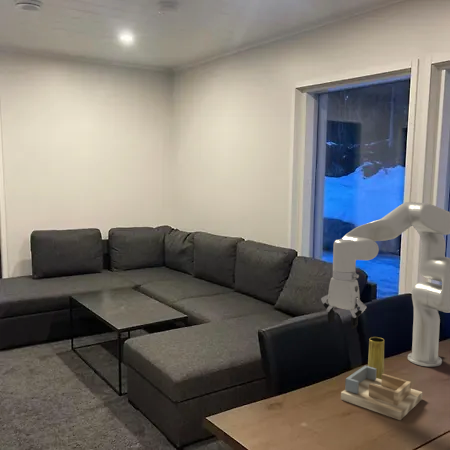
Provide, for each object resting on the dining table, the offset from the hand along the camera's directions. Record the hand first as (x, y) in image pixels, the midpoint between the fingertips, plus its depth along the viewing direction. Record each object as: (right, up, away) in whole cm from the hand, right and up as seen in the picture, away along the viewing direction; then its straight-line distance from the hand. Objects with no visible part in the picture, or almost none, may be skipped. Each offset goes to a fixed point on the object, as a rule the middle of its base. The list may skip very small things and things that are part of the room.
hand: (342, 324), depth 168 cm
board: (+11, -23, -7) cm, 27 cm away
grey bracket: (+6, -20, -3) cm, 21 cm away
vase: (+15, -21, +10) cm, 28 cm away
